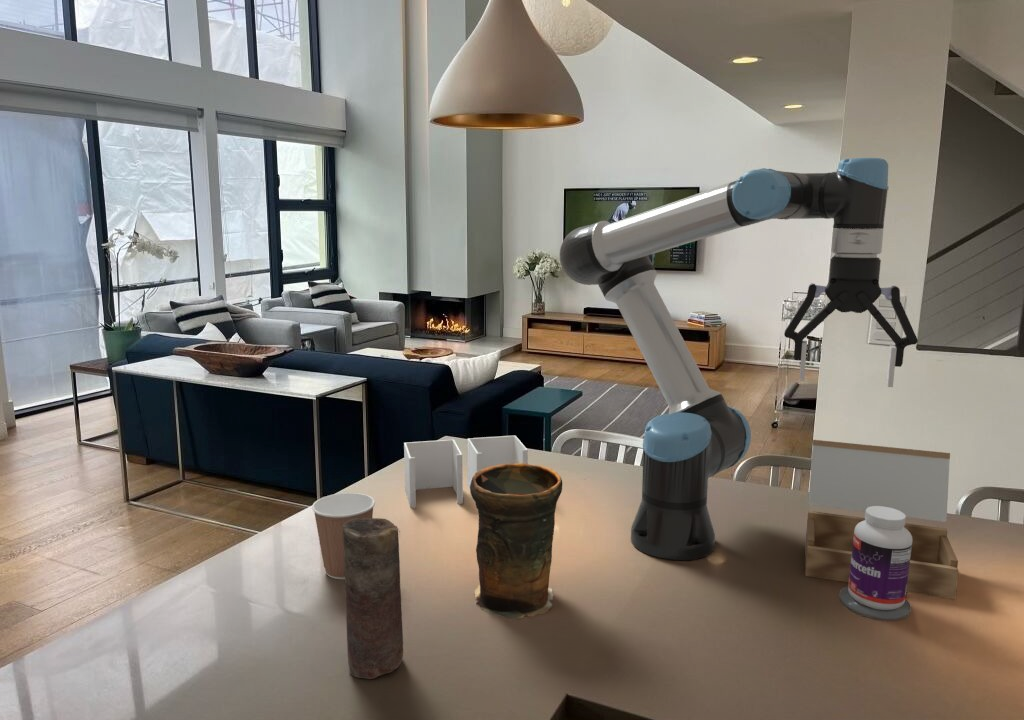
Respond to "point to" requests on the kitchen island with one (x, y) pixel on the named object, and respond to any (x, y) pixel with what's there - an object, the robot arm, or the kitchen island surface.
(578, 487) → the kitchen island surface
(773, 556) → the kitchen island surface
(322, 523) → the coffee cup
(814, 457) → the lid
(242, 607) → the kitchen island surface
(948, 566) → the wooden box
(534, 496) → the vessel
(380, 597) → the candle
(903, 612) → the grey oval disc
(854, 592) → the pill bottle
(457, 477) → the storage container
